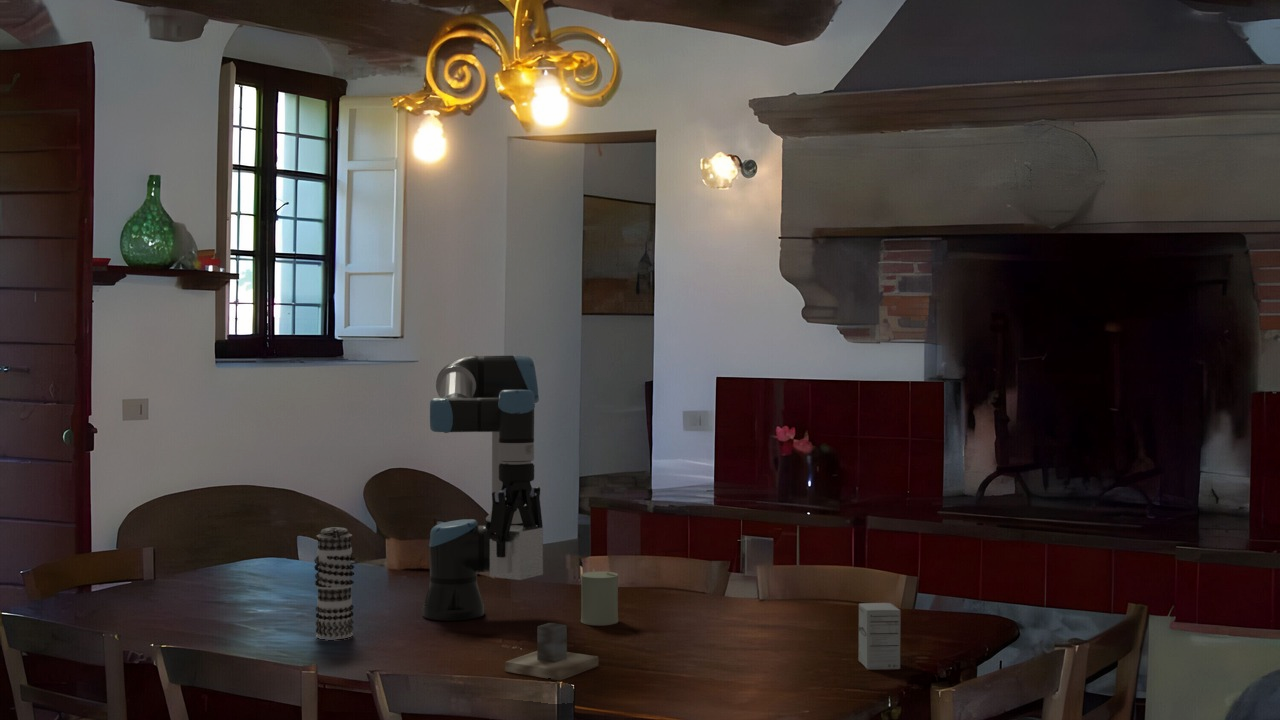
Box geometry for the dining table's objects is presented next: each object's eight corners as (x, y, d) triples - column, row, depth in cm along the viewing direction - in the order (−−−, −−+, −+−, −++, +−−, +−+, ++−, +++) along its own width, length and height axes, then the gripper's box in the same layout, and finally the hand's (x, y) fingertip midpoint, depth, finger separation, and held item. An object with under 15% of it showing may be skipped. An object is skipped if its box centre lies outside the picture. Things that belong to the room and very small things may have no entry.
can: (613, 626, 320) (613, 576, 320) (576, 624, 322) (576, 575, 322) (622, 618, 329) (622, 570, 329) (585, 616, 331) (585, 568, 331)
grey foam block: (489, 576, 282) (489, 529, 282) (513, 571, 289) (513, 525, 289) (519, 579, 278) (519, 531, 278) (542, 574, 284) (542, 527, 284)
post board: (504, 671, 277) (504, 628, 277) (544, 657, 289) (544, 616, 289) (560, 680, 270) (560, 636, 270) (598, 666, 282) (598, 623, 282)
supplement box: (857, 661, 286) (857, 602, 286) (891, 660, 287) (891, 602, 287) (866, 670, 279) (866, 609, 279) (901, 669, 279) (901, 609, 279)
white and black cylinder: (362, 633, 312) (362, 526, 312) (341, 642, 303) (341, 532, 303) (328, 630, 315) (328, 525, 315) (306, 639, 306) (306, 530, 306)
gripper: (499, 466, 272) (499, 578, 272) (559, 459, 290) (560, 564, 290) (470, 465, 276) (471, 575, 277) (532, 458, 294) (532, 561, 294)
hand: (516, 569), depth 283 cm, fingers closed on grey foam block, 8 cm apart
